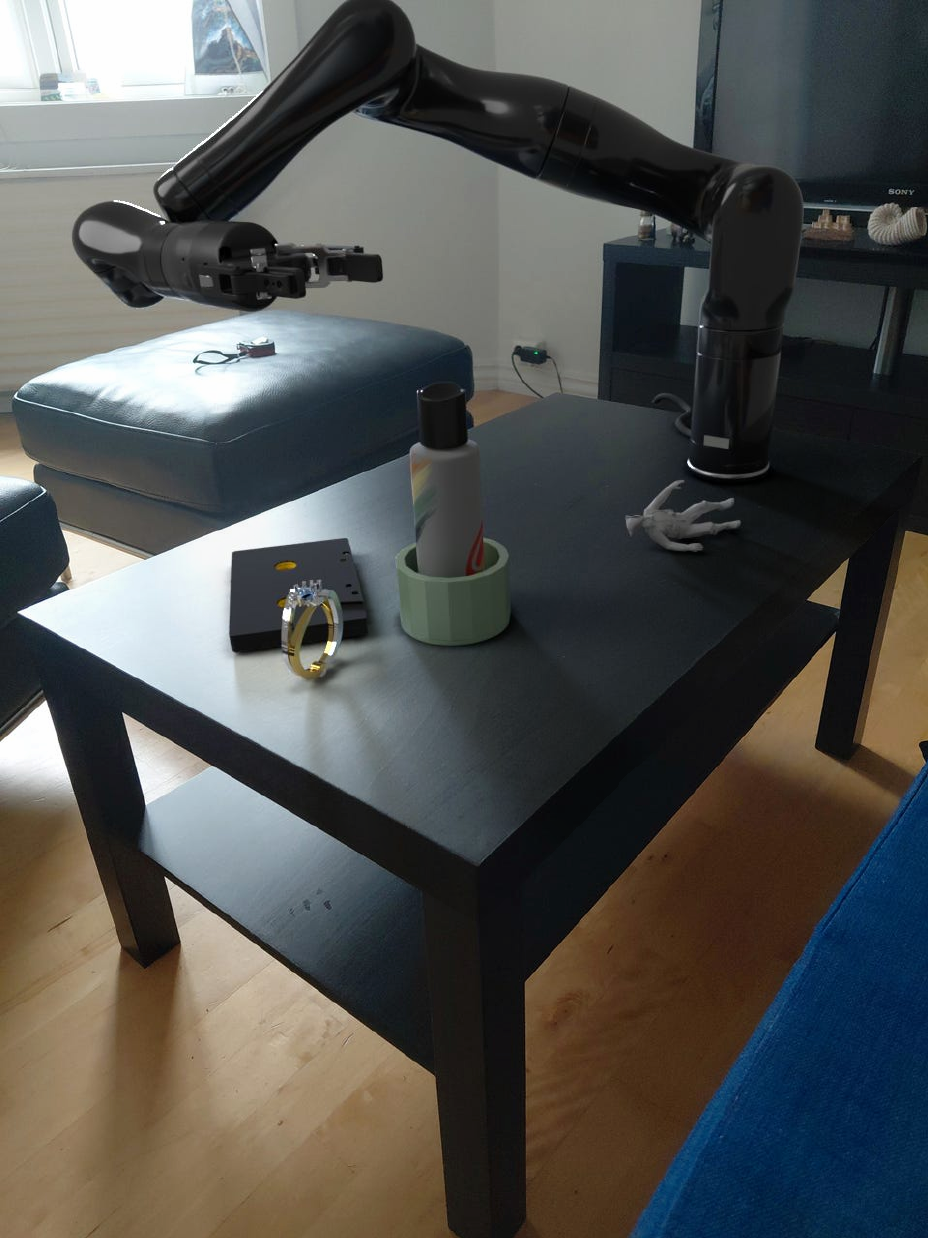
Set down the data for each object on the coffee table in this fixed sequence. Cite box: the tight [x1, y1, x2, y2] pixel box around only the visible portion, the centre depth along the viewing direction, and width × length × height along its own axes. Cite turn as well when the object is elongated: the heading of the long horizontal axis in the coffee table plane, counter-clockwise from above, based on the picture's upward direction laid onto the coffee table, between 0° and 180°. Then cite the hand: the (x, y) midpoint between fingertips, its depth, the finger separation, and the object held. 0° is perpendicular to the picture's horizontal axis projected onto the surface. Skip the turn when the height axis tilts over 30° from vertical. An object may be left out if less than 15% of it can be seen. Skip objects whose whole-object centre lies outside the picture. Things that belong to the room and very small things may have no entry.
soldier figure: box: [624, 479, 742, 553], centre depth 95 cm, size 8×5×12 cm
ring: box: [281, 580, 343, 680], centre depth 74 cm, size 7×3×8 cm, turn 151°
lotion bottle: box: [409, 381, 484, 578], centre depth 78 cm, size 6×6×20 cm
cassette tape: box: [228, 537, 369, 653], centre depth 87 cm, size 18×12×2 cm, turn 12°
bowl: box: [394, 537, 512, 647], centre depth 82 cm, size 10×10×6 cm
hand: (342, 276), depth 77 cm, fingers open, 8 cm apart
